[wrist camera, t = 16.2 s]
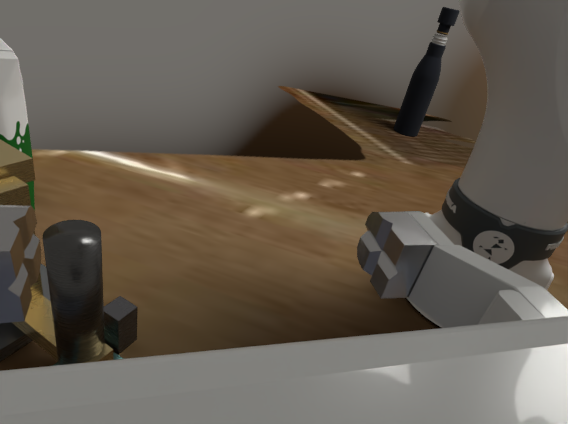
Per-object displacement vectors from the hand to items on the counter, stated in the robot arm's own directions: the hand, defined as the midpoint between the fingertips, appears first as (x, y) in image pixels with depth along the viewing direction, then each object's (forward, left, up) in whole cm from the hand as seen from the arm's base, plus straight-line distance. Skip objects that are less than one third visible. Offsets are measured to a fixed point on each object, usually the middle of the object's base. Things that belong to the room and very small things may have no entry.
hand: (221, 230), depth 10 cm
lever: (-6, -20, -23) cm, 31 cm away
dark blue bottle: (-103, -11, -25) cm, 106 cm away
